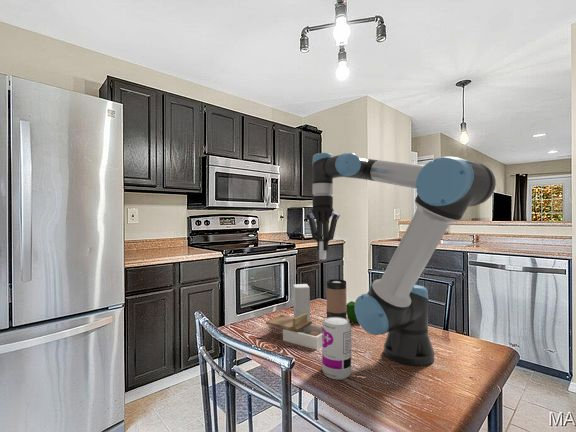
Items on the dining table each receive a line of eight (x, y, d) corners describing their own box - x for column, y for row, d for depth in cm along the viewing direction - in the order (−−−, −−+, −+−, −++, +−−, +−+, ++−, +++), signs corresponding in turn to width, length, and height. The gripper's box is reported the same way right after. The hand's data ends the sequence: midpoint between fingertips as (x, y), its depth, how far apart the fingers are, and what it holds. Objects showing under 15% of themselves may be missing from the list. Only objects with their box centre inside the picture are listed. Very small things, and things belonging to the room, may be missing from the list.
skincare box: (310, 324, 130) (310, 287, 130) (294, 325, 129) (294, 287, 129) (307, 318, 138) (307, 283, 138) (292, 318, 138) (292, 283, 138)
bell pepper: (342, 320, 136) (342, 297, 136) (356, 317, 140) (356, 294, 140) (354, 325, 129) (354, 301, 129) (369, 322, 133) (369, 299, 133)
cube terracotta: (320, 339, 113) (320, 331, 113) (318, 342, 110) (318, 334, 110) (312, 338, 114) (312, 330, 114) (309, 341, 111) (309, 333, 111)
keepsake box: (330, 341, 112) (330, 329, 112) (317, 350, 104) (317, 337, 104) (298, 333, 120) (298, 321, 120) (283, 341, 112) (283, 329, 112)
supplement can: (328, 382, 84) (328, 326, 84) (318, 368, 92) (318, 317, 92) (356, 378, 86) (356, 324, 86) (343, 365, 94) (343, 315, 94)
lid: (311, 323, 117) (311, 313, 117) (297, 331, 109) (297, 320, 109) (281, 316, 125) (281, 307, 125) (266, 323, 117) (266, 313, 117)
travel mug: (350, 334, 119) (350, 282, 119) (332, 337, 116) (332, 283, 116) (339, 328, 126) (339, 278, 126) (323, 330, 123) (323, 279, 123)
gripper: (343, 195, 115) (343, 259, 115) (312, 197, 122) (312, 257, 122) (334, 194, 109) (334, 261, 109) (302, 195, 116) (302, 259, 116)
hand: (322, 259), depth 115 cm, fingers closed
